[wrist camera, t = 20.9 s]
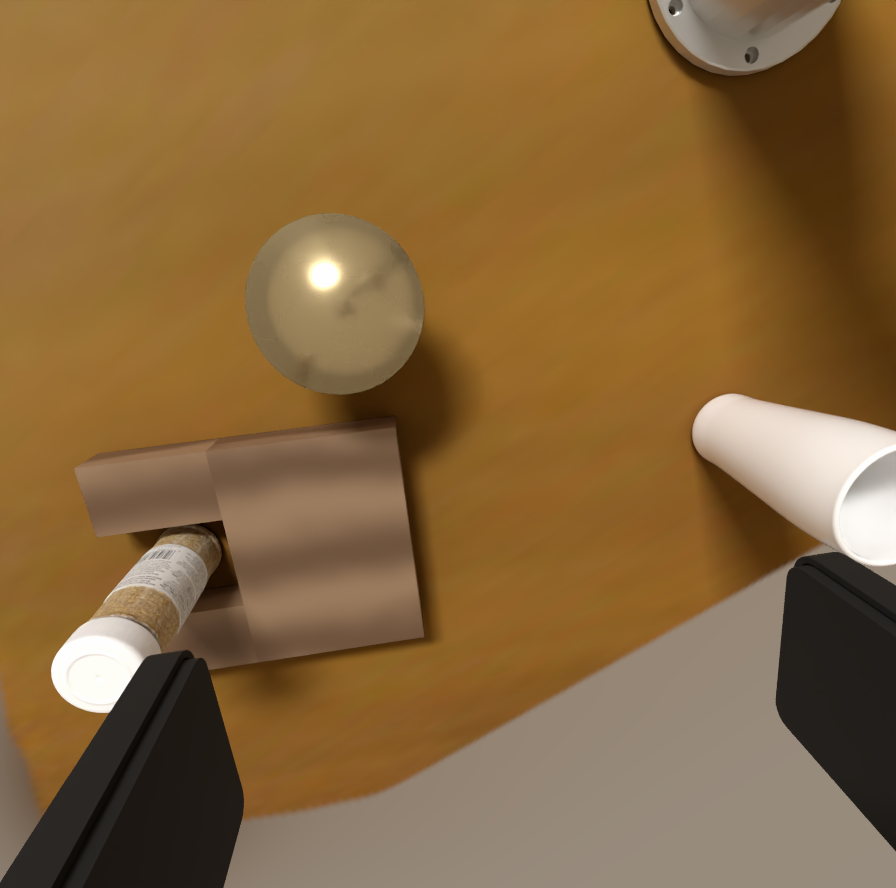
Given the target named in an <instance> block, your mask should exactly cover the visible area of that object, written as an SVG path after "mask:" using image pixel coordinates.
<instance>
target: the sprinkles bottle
mask: <svg viewBox="0 0 896 888" xmlns="http://www.w3.org/2000/svg"><path fill="white" fill-rule="evenodd" d="M221 557H222V552H221V546H220V543H219V541H218V539H217V538H216V536H215V535H214V534H213V533H212V532H211V531H209V530H208V529H206V528H204V527H202V526H199V525H196V524H190V525H183V526H175V527H170V528H168V529H167V530H165V531H164V532H163V534H162V535H161V536H160V537H159V538H158V540H157V543H156V544H155V545H154V546H153V548H152V549H151V550H149V551H148V552H147V553H146V554H145V555H144V556H143V557H142V558H141V559H140V560H139V561H138V562H137V564H136V565H135V566H134V567H133V568H132V569H131V570H130V571H129V573H128V574H127V575H126V576H125V577H124V578H123V580H122V581H121V582H120V583H119V584H118V585H117V586H116V588H115V589H114V590H113V591H112V592H111V593H110V595H109V596H108V597H107V598H106V600H105V601H104V603H103V605H102V606H101V607H100V608H99V610H98V611H97V612H96V613H95V614H94V616H93V617H92V618H91V619H90V620H89V621H88V622H86V623H85V624H83V625H82V626H80V627H79V628H78V629H77V630H76V631H75V632H74V633H73V634H72V636H71V637H70V638H69V639H68V640H67V641H66V643H65V644H64V645H63V646H62V648H61V649H60V650H59V651H58V653H57V654H56V656H55V658H54V661H53V664H52V669H51V673H52V680H53V683H54V685H55V687H56V689H57V691H58V692H59V694H60V695H61V696H62V697H63V698H64V699H65V700H66V701H68V702H69V703H71V704H72V705H74V706H76V707H78V708H81V709H83V710H86V711H91V712H97V713H109V712H110V711H111V710H112V708H113V707H114V705H115V703H116V702H117V700H118V699H119V697H120V696H121V694H122V692H123V691H124V689H125V688H126V686H127V685H128V683H129V682H130V680H131V678H132V677H133V675H134V674H135V672H136V671H137V669H138V667H139V666H140V664H141V663H142V661H143V660H144V659H145V658H146V657H147V656H150V655H155V654H161V653H165V652H166V650H167V648H168V646H169V645H170V643H171V642H172V640H173V639H174V637H175V636H176V635H177V634H178V632H179V631H180V629H181V627H182V626H183V624H184V622H185V621H186V619H187V617H188V616H189V614H190V612H191V610H192V609H193V607H194V605H195V603H196V602H197V600H198V598H199V597H200V595H201V593H202V592H203V590H204V588H205V586H206V583H207V581H208V579H209V578H210V576H211V574H212V573H213V572H214V571H215V570H216V568H217V567H218V565H219V563H220V560H221Z"/></svg>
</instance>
